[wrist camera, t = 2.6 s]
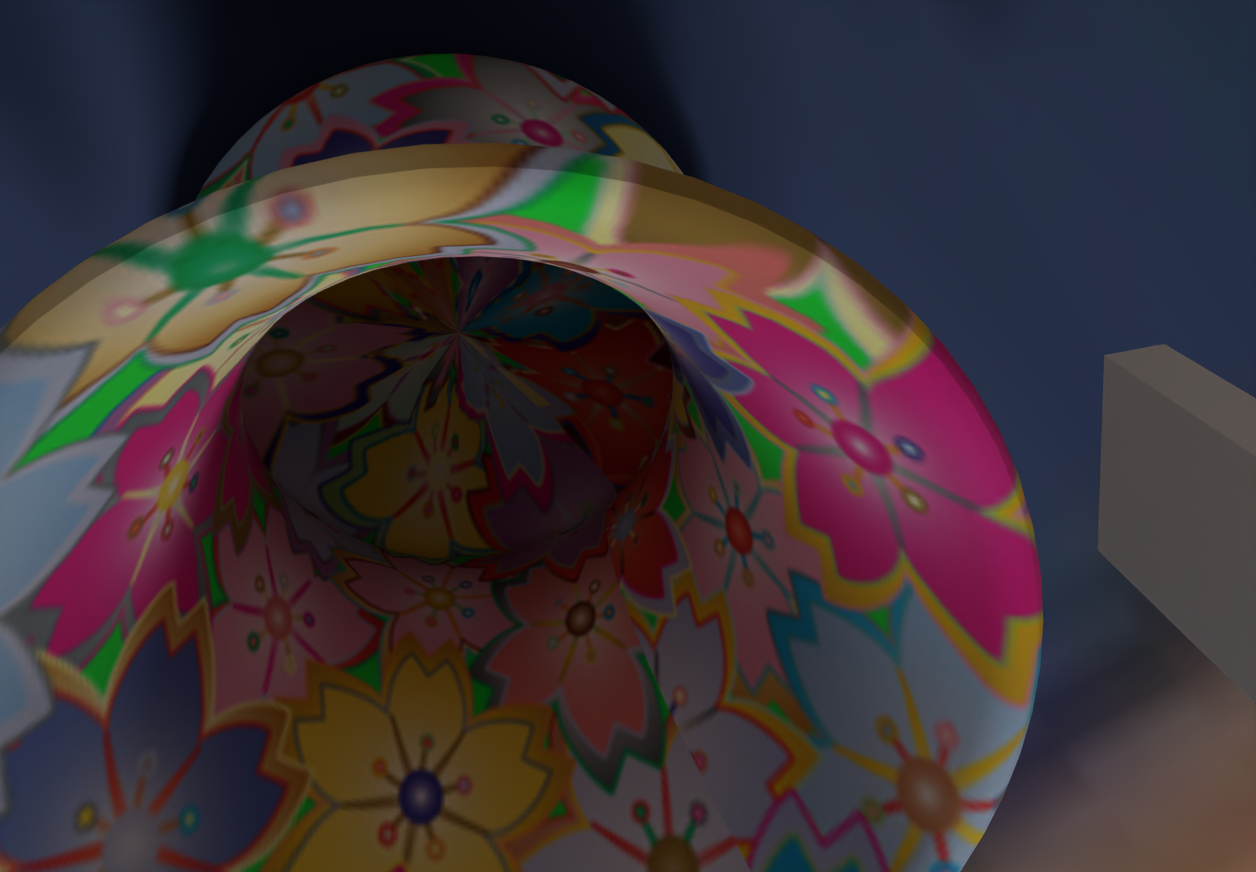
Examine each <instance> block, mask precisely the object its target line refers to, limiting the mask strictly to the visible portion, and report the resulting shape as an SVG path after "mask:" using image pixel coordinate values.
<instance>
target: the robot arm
mask: <svg viewBox="0 0 1256 872" xmlns="http://www.w3.org/2000/svg"><path fill="white" fill-rule="evenodd" d="M1098 551H1099V552H1100V553H1101V554H1102V555H1103V556H1104V557H1105V558H1106V559H1108V560H1109V561H1110V562H1111V563H1112V564H1113V565H1114V566H1115V567H1116V568H1117V569H1118V570H1119V571H1120V572H1121V573H1122V574H1123V575H1124V576H1125V577H1126V578H1127V579H1128V580H1129V581H1130V582H1131V583H1132V584H1133V585H1134V586H1135V587H1136V588H1137V589H1138V590H1139V591H1140V592H1141V593H1142V594H1143V595H1144V596H1145V597H1146V598H1147V599H1148V600H1149V601H1150V602H1152V603H1153V604H1154V605H1155V606H1156V607H1157V608H1158V609H1159V610H1160V611H1161V612H1162V613H1163V614H1164V615H1165V616H1166V617H1167V618H1168V619H1169V620H1170V621H1171V622H1172V623H1173V624H1174V625H1175V626H1176V627H1177V628H1178V629H1179V630H1180V631H1181V632H1182V633H1183V634H1184V635H1185V636H1186V637H1187V638H1188V639H1189V640H1190V641H1191V642H1192V643H1193V644H1195V645H1196V646H1197V647H1198V648H1199V649H1200V650H1201V651H1202V652H1203V653H1204V654H1205V655H1206V656H1207V657H1208V658H1209V659H1210V660H1211V661H1212V662H1213V663H1214V664H1215V665H1216V666H1217V667H1218V668H1219V669H1220V670H1221V671H1222V672H1223V673H1224V674H1225V675H1226V676H1227V677H1228V678H1229V679H1230V680H1231V681H1232V682H1233V683H1234V684H1235V685H1236V686H1238V687H1239V688H1240V689H1241V690H1242V691H1243V692H1244V693H1245V694H1246V695H1247V696H1248V697H1249V698H1250V699H1251V700H1252V701H1253V702H1254V703H1255V704H1256V399H1255V398H1254V397H1252V396H1250V395H1249V394H1247V393H1245V392H1244V391H1242V390H1240V389H1239V388H1237V387H1235V386H1234V385H1232V384H1230V383H1229V382H1227V381H1225V380H1224V379H1222V378H1220V377H1219V376H1217V375H1215V374H1214V373H1212V372H1210V371H1209V370H1207V369H1205V368H1204V367H1202V366H1200V365H1199V364H1197V363H1195V362H1194V361H1192V360H1190V359H1189V358H1187V357H1185V356H1184V355H1182V354H1180V353H1179V352H1177V351H1175V350H1173V349H1172V348H1170V347H1168V346H1167V345H1165V344H1162V345H1157V346H1151V347H1146V348H1141V349H1135V350H1130V351H1125V352H1119V353H1114V354H1109V355H1104V382H1103V412H1102V441H1101V471H1100V500H1099V530H1098Z"/></svg>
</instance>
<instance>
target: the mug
mask: <svg viewBox="0 0 1256 872" xmlns="http://www.w3.org/2000/svg"><path fill="white" fill-rule="evenodd" d="M1042 631H1043V608H1042V587H1041V573H1040V567H1039V561H1038V555H1037V548H1036V542H1035V536H1034V530H1033V525H1032V521H1031V517H1030V514H1029V510H1028V507H1027V503H1026V500H1025V496H1024V493H1023V489H1022V486H1021V482H1020V479H1019V476H1018V473H1017V471H1016V469H1015V466H1014V464H1013V462H1012V459H1011V457H1010V454H1009V452H1008V450H1007V447H1006V445H1005V443H1004V440H1003V438H1002V435H1001V433H1000V431H999V429H998V427H997V426H996V424H995V422H994V420H993V419H992V417H991V415H990V413H989V411H988V410H987V408H986V406H985V404H984V403H983V401H982V399H981V397H980V396H979V394H978V392H977V390H976V389H975V387H974V386H973V384H972V383H971V382H970V380H969V379H968V377H967V376H966V375H965V373H964V372H963V371H962V369H961V368H960V367H959V365H958V364H957V362H956V361H955V360H954V358H953V357H952V356H951V354H950V353H949V352H948V350H947V349H946V348H945V346H944V345H943V344H942V343H941V342H940V341H939V339H938V338H937V337H936V336H935V335H934V334H933V333H932V332H931V331H930V330H929V329H928V328H927V327H926V326H925V324H924V323H923V322H922V321H921V320H920V319H919V318H918V317H917V316H916V315H915V314H914V313H913V312H912V311H911V309H910V308H909V307H908V306H907V305H906V304H905V303H903V302H902V301H901V300H900V299H899V298H898V297H896V296H895V295H894V294H893V293H892V292H891V291H889V290H888V289H887V288H886V287H885V286H884V285H882V284H881V283H880V282H879V281H878V280H877V279H875V278H874V277H873V276H872V275H871V274H869V273H868V272H867V271H866V270H865V269H864V268H862V267H861V266H860V265H859V264H858V263H856V262H855V261H853V260H852V259H850V258H849V257H847V256H846V255H844V254H843V253H841V252H840V251H838V250H837V249H835V248H834V247H832V246H831V245H830V244H828V243H827V242H825V241H824V240H822V239H821V238H819V237H818V236H816V235H815V234H813V233H812V232H810V231H809V230H807V229H805V228H803V227H801V226H799V225H798V224H796V223H794V222H792V221H790V220H788V219H786V218H784V217H782V216H781V215H779V214H777V213H775V212H773V211H771V210H769V209H767V208H765V207H764V206H762V205H760V204H758V203H756V202H754V201H752V200H749V199H747V198H744V197H742V196H739V195H737V194H734V193H732V192H729V191H726V190H724V189H721V188H719V187H716V186H714V185H711V184H709V183H706V182H704V181H701V180H699V179H696V178H694V177H690V176H687V175H684V174H683V172H682V171H681V170H680V168H679V167H678V166H677V165H676V163H675V162H674V161H673V160H672V158H671V157H670V156H669V155H668V153H667V152H666V151H665V150H664V149H663V148H662V147H661V146H660V145H659V144H658V143H657V141H656V140H655V139H654V138H653V137H652V136H651V135H650V134H649V133H648V132H647V131H646V130H645V129H643V128H642V127H641V126H640V125H639V124H637V123H636V122H635V121H634V120H633V119H631V118H630V117H629V116H628V115H627V114H625V113H624V112H623V111H622V110H620V109H619V108H617V107H616V106H614V105H613V104H611V103H610V102H608V101H607V100H605V99H604V98H602V97H601V96H599V95H597V94H596V93H594V92H592V91H590V90H588V89H586V88H584V87H583V86H581V85H579V84H577V83H575V82H573V81H571V80H568V79H566V78H563V77H561V76H559V75H556V74H554V73H551V72H549V71H546V70H543V69H540V68H537V67H533V66H530V65H526V64H523V63H520V62H516V61H511V60H505V59H500V58H495V57H490V56H481V55H469V54H458V53H454V54H422V55H413V56H404V57H396V58H392V59H387V60H383V61H378V62H374V63H369V64H365V65H362V66H359V67H356V68H353V69H350V70H347V71H344V72H341V73H338V74H336V75H334V76H332V77H329V78H327V79H325V80H323V81H321V82H318V83H316V84H314V85H312V86H310V87H308V88H306V89H305V90H303V91H301V92H300V93H298V94H296V95H295V96H293V97H291V98H289V99H288V100H286V101H284V102H283V103H282V104H280V105H279V106H278V107H276V108H275V109H274V110H272V111H271V112H270V113H268V114H267V115H266V116H264V117H263V118H262V119H260V120H259V121H258V122H257V123H256V124H255V125H254V126H253V127H252V128H251V129H249V130H248V131H247V132H246V133H245V134H244V135H243V136H242V137H241V138H240V139H239V140H238V141H237V142H236V143H235V144H234V146H233V147H232V148H231V149H230V150H229V151H228V152H227V154H226V155H225V156H224V157H223V158H222V159H221V160H220V162H219V163H218V165H217V166H216V168H215V169H214V170H213V172H212V173H211V175H210V176H209V178H208V179H207V181H206V182H205V183H204V185H203V187H202V189H201V190H200V192H199V194H198V196H197V198H196V200H195V201H193V202H191V203H189V204H187V205H184V206H182V207H180V208H178V209H175V210H173V211H171V212H169V213H167V214H164V215H162V216H160V217H158V218H156V219H153V220H151V221H149V222H147V223H146V224H144V225H142V226H141V227H139V228H137V229H135V230H134V231H132V232H130V233H129V234H127V235H125V236H124V237H122V238H120V239H118V240H117V241H115V242H113V243H112V244H110V245H108V246H106V247H105V248H103V249H101V250H100V251H98V252H96V253H94V254H93V255H91V256H89V257H88V258H87V259H85V260H84V261H83V262H81V263H80V264H79V265H77V266H76V267H75V268H73V269H72V270H70V271H69V272H68V273H66V274H65V275H64V276H62V277H61V278H60V279H58V280H57V281H56V282H54V283H53V284H52V285H50V286H49V287H48V288H46V289H45V290H44V291H42V292H41V293H39V294H38V295H37V296H35V297H34V298H33V299H32V300H31V301H30V302H29V303H28V304H27V305H26V306H25V307H23V308H22V309H21V310H20V311H19V312H18V313H17V314H16V315H15V316H14V317H13V318H12V319H11V320H9V321H8V322H7V323H6V324H5V325H4V326H3V327H2V328H1V329H0V872H960V871H961V869H962V868H963V866H964V865H965V863H966V861H967V860H968V858H969V857H970V855H971V854H972V852H973V850H974V849H975V847H976V846H977V844H978V842H979V841H980V839H981V838H982V836H983V834H984V833H985V831H986V829H987V827H988V825H989V823H990V821H991V819H992V817H993V815H994V813H995V811H996V809H997V807H998V805H999V803H1000V801H1001V799H1002V797H1003V795H1004V793H1005V791H1006V788H1007V786H1008V783H1009V780H1010V778H1011V775H1012V773H1013V770H1014V768H1015V765H1016V763H1017V760H1018V758H1019V755H1020V752H1021V749H1022V745H1023V742H1024V738H1025V735H1026V731H1027V728H1028V724H1029V721H1030V717H1031V714H1032V710H1033V705H1034V699H1035V693H1036V687H1037V682H1038V676H1039V670H1040V662H1041V646H1042Z"/></svg>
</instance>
